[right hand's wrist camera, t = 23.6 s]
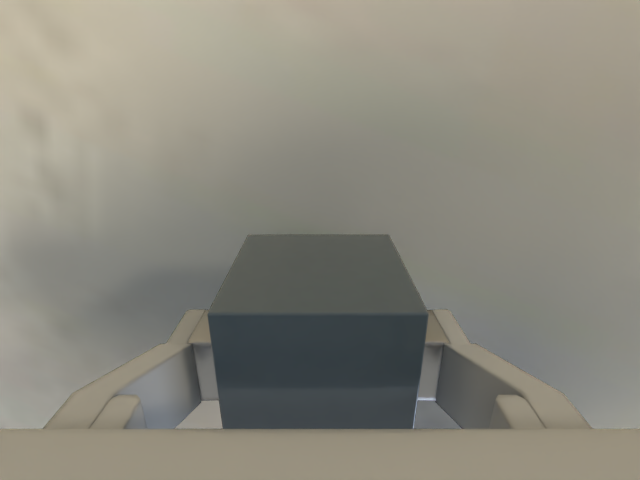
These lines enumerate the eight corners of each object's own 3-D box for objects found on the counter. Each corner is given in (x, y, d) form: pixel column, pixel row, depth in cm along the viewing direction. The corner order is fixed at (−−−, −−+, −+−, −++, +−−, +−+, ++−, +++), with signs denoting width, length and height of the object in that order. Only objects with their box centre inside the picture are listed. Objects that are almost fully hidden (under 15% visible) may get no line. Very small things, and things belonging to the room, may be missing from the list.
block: (257, 354, 13) (228, 474, 9) (247, 233, 11) (205, 313, 7) (380, 353, 13) (408, 473, 9) (389, 233, 11) (430, 313, 7)
